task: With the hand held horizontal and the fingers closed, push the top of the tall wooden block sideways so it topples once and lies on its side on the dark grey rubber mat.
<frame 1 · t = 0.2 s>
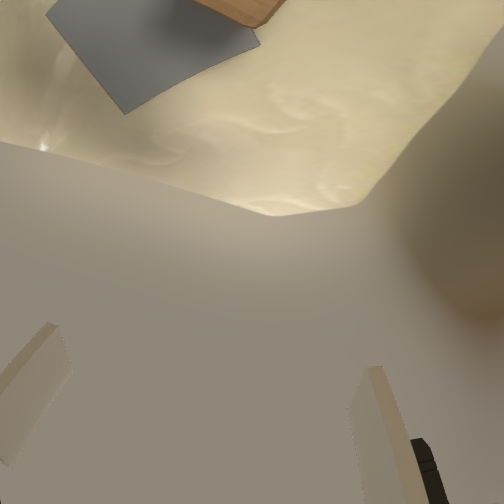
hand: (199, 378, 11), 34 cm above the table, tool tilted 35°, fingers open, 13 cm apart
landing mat: (140, 17, 26), on the table
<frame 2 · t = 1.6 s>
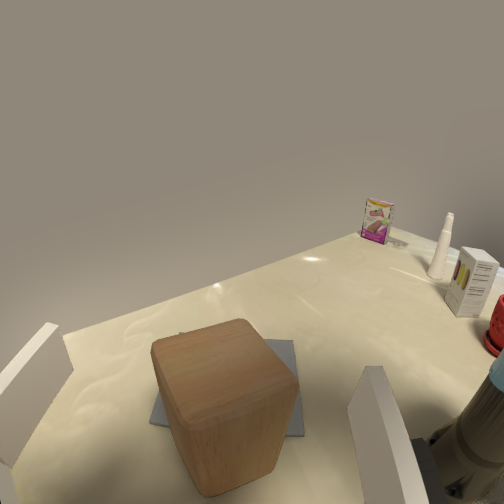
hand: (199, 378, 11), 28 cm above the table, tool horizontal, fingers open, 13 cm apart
wooden block: (223, 459, 32), on the table, touching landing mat
supplement box: (461, 309, 68), on the table
candy bar box: (374, 240, 117), on the table
plant pot: (500, 348, 51), on the table
cosmetic bottle: (434, 276, 88), on the table
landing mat: (231, 380, 46), on the table
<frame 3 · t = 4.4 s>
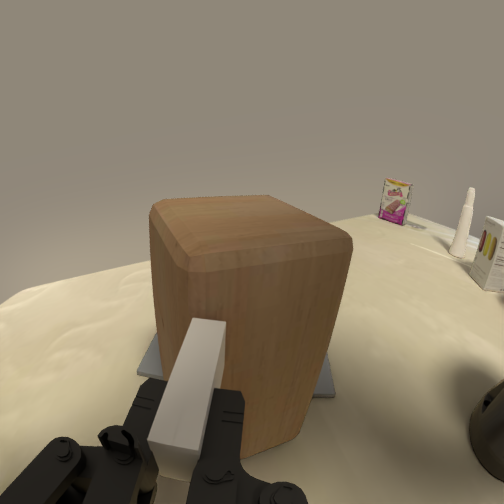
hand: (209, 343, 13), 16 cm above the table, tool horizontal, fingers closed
wooden block: (229, 420, 25), on the table, touching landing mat
supplement box: (487, 284, 60), on the table
candy bar box: (391, 221, 110), on the table
cosmetic bottle: (456, 255, 80), on the table
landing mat: (242, 331, 40), on the table
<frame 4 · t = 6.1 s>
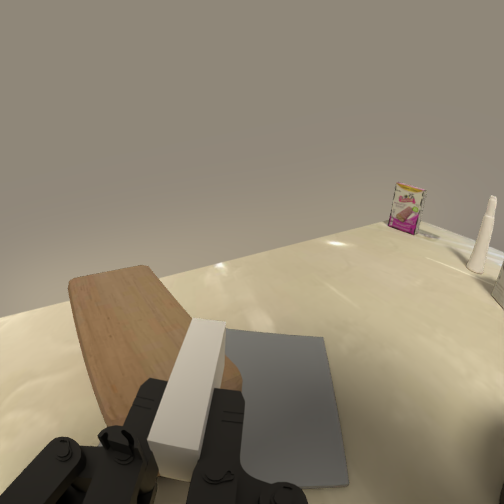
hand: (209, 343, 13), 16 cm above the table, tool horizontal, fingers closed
wooden block: (188, 441, 18), point 6 cm above the table, touching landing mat
candy bar box: (402, 230, 99), on the table
cosmetic bottle: (474, 270, 69), on the table
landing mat: (232, 394, 29), on the table
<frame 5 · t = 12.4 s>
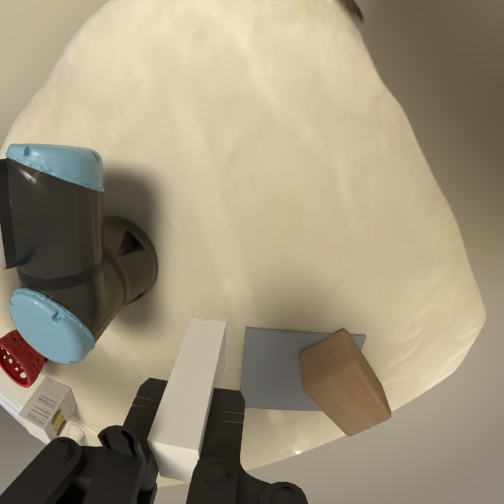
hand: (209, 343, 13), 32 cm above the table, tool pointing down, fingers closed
wooden block: (323, 356, 47), point 6 cm above the table, touching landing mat
supplement box: (61, 391, 66), on the table
plant pot: (35, 339, 59), on the table
cosmetic bottle: (77, 429, 74), on the table
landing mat: (297, 375, 56), on the table
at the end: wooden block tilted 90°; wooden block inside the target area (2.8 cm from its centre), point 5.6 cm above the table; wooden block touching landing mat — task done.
